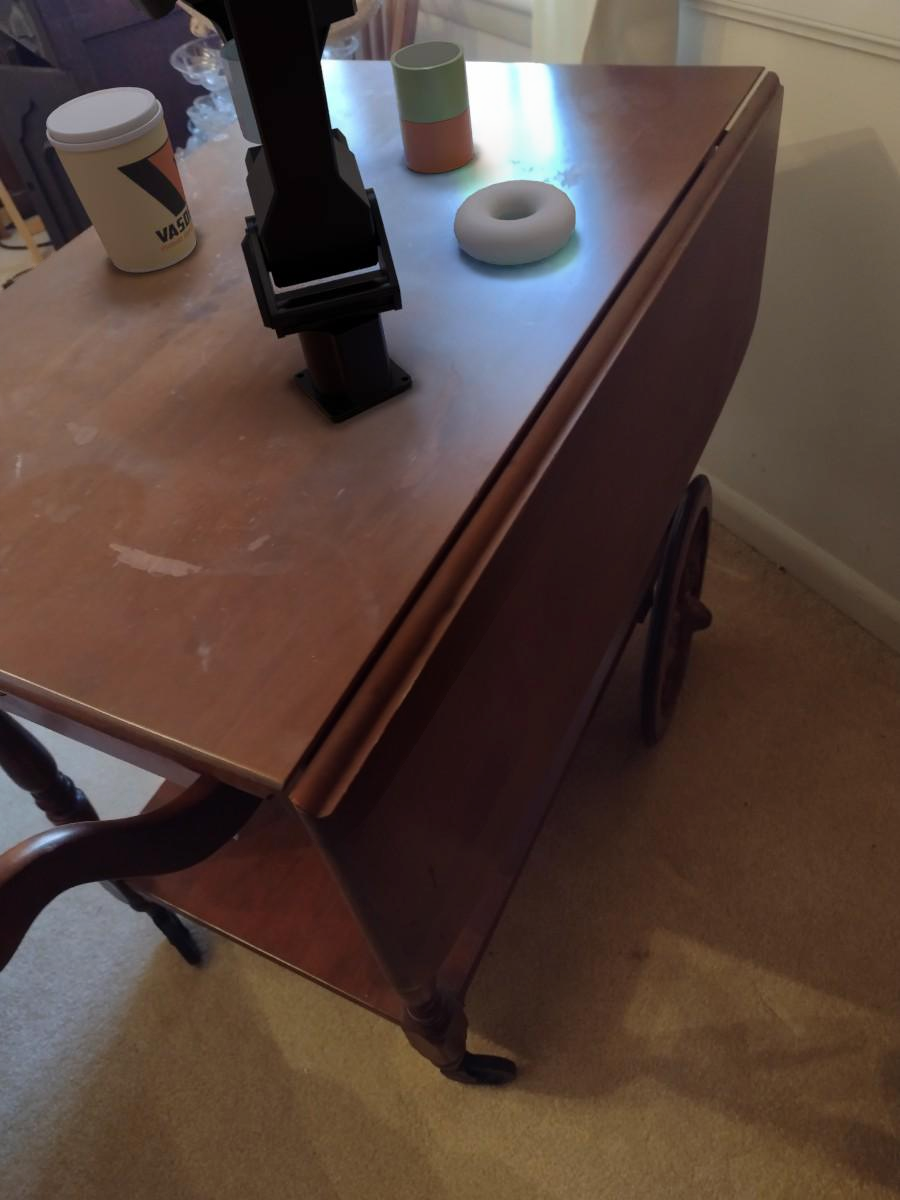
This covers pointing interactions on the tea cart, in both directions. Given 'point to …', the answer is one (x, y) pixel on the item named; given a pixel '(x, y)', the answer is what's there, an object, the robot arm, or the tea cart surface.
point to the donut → (514, 222)
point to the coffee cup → (125, 176)
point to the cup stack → (433, 105)
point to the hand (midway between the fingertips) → (280, 111)
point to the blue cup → (239, 92)
